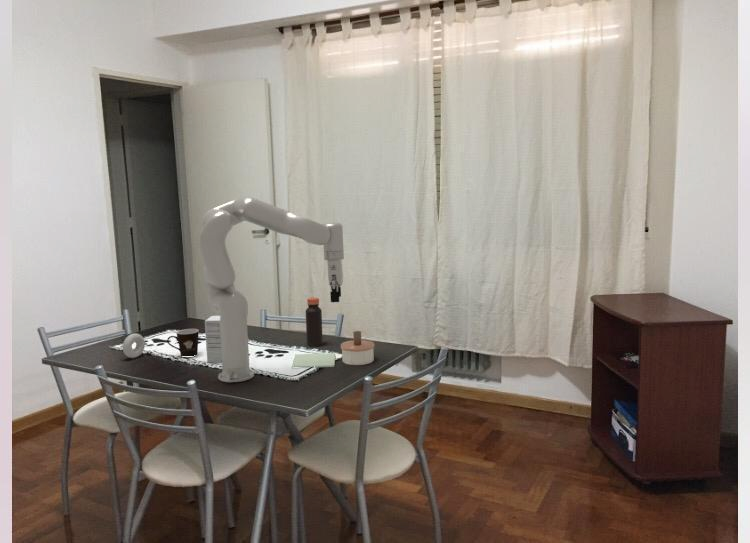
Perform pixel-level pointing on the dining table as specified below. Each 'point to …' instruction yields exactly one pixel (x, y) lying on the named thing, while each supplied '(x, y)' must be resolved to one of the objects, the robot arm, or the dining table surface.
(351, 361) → the bowl
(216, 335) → the supplement box
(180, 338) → the coffee mug
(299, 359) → the mat
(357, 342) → the lid
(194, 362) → the dining table surface
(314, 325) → the bottle
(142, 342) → the donut
